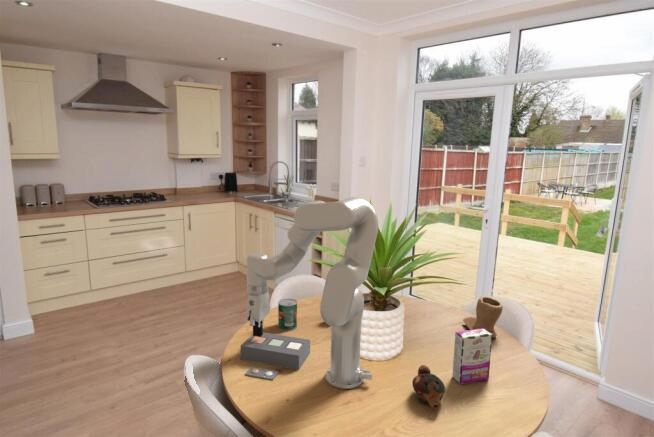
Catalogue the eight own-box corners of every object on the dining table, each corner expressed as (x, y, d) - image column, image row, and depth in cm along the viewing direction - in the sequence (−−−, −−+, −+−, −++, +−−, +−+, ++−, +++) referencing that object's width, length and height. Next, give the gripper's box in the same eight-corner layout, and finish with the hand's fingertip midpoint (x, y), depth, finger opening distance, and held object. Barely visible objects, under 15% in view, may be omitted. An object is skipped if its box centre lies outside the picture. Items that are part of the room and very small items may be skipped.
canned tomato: (274, 326, 172) (274, 301, 170) (289, 321, 177) (289, 297, 175) (285, 332, 166) (285, 307, 164) (300, 327, 171) (301, 302, 169)
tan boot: (504, 340, 163) (508, 305, 161) (475, 340, 163) (478, 304, 160) (488, 324, 178) (492, 291, 175) (462, 323, 178) (464, 291, 175)
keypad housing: (310, 353, 150) (310, 339, 149) (298, 370, 139) (299, 355, 138) (255, 344, 156) (255, 331, 155) (240, 359, 145) (240, 345, 144)
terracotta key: (266, 344, 150) (266, 338, 150) (261, 349, 146) (261, 343, 146) (255, 342, 151) (255, 336, 151) (250, 347, 147) (250, 341, 147)
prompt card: (278, 372, 137) (278, 370, 137) (272, 380, 132) (272, 378, 132) (251, 367, 140) (251, 365, 140) (244, 375, 135) (244, 373, 135)
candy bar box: (479, 372, 140) (483, 327, 137) (489, 380, 135) (493, 334, 132) (450, 376, 137) (454, 331, 134) (459, 384, 132) (463, 337, 129)
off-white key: (302, 349, 146) (302, 343, 146) (297, 355, 142) (297, 349, 142) (290, 348, 148) (290, 341, 147) (286, 353, 143) (286, 347, 143)
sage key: (284, 346, 148) (284, 340, 148) (279, 352, 144) (279, 346, 144) (272, 345, 150) (272, 339, 149) (267, 350, 145) (267, 344, 145)
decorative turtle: (432, 383, 133) (435, 361, 131) (452, 416, 118) (456, 392, 116) (403, 383, 131) (406, 361, 129) (420, 417, 117) (424, 393, 115)
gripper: (258, 296, 137) (258, 346, 140) (275, 282, 151) (275, 328, 154) (238, 293, 139) (238, 343, 142) (257, 279, 153) (257, 325, 156)
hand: (257, 335), depth 148 cm, fingers closed
